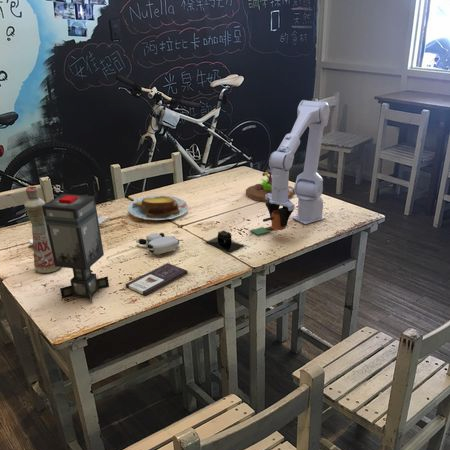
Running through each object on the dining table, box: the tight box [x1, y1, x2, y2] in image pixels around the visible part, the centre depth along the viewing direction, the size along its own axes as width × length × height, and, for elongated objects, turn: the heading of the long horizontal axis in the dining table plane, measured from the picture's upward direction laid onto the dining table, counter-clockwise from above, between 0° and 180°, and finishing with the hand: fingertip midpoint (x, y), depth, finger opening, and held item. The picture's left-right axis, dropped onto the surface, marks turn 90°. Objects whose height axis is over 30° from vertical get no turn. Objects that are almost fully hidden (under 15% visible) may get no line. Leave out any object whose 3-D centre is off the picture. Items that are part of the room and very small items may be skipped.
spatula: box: [249, 225, 274, 237], centre depth 193 cm, size 14×5×1 cm, turn 121°
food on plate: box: [127, 194, 189, 221], centre depth 210 cm, size 26×25×7 cm
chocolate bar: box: [125, 262, 188, 296], centre depth 160 cm, size 9×1×18 cm
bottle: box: [23, 185, 62, 274], centre depth 162 cm, size 9×9×28 cm
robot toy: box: [135, 232, 184, 255], centre depth 180 cm, size 12×4×15 cm
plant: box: [245, 170, 296, 203], centre depth 224 cm, size 20×20×11 cm
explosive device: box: [42, 193, 110, 304], centre depth 147 cm, size 10×10×30 cm
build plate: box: [205, 230, 245, 253], centre depth 181 cm, size 12×7×5 cm, turn 45°
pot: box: [262, 209, 287, 231], centre depth 181 cm, size 10×5×7 cm, turn 121°
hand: (278, 223), depth 183 cm, fingers closed on pot, 5 cm apart
